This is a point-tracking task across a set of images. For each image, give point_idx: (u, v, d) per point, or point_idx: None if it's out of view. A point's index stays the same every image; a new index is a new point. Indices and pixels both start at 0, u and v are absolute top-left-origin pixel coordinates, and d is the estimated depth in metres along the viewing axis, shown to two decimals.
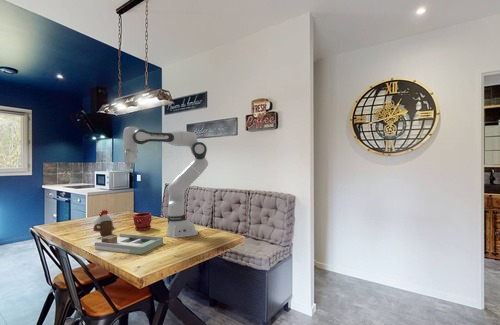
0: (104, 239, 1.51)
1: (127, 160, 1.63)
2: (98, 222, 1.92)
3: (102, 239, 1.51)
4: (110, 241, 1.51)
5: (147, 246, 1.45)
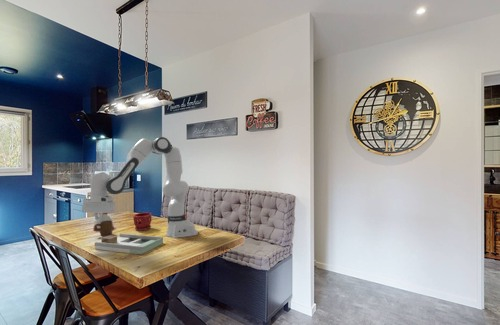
0: (104, 239, 1.51)
1: None
2: (98, 222, 1.92)
3: (102, 239, 1.51)
4: (110, 241, 1.51)
5: (147, 246, 1.45)
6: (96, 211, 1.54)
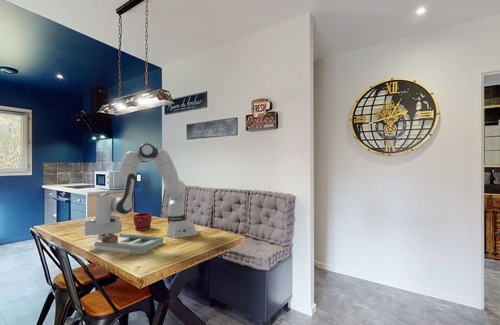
0: (105, 239, 1.51)
1: None
2: None
3: (103, 239, 1.51)
4: (111, 241, 1.51)
5: (147, 246, 1.45)
6: (103, 233, 1.53)
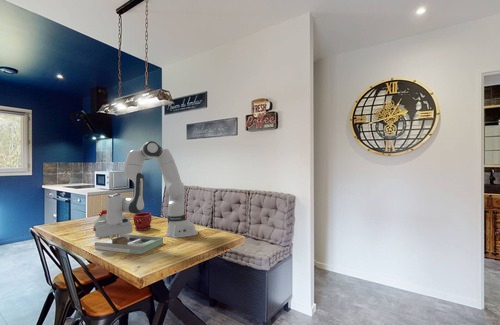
0: (114, 240, 1.48)
1: None
2: None
3: (113, 240, 1.49)
4: (120, 243, 1.47)
5: (147, 246, 1.45)
6: (114, 233, 1.51)
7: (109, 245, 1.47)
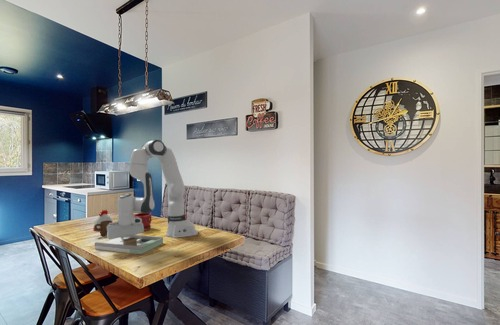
0: (124, 241, 1.47)
1: (107, 237, 1.44)
2: (98, 222, 1.92)
3: (123, 240, 1.49)
4: (127, 244, 1.45)
5: (147, 246, 1.45)
6: (127, 234, 1.50)
7: (109, 245, 1.47)
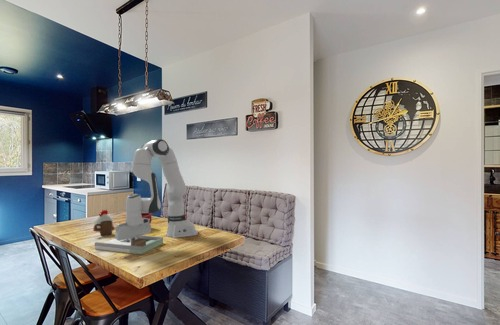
0: (132, 242, 1.45)
1: (116, 238, 1.40)
2: (98, 222, 1.92)
3: (131, 242, 1.46)
4: (137, 245, 1.43)
5: (147, 246, 1.45)
6: (135, 235, 1.47)
7: (109, 245, 1.47)
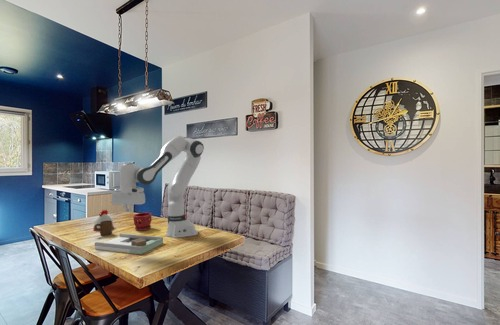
0: (133, 242, 1.45)
1: None
2: (98, 222, 1.92)
3: (132, 242, 1.46)
4: (138, 245, 1.43)
5: (147, 246, 1.45)
6: (126, 203, 1.50)
7: (109, 245, 1.47)
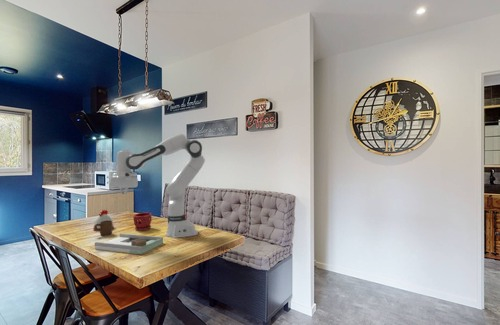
0: (133, 242, 1.45)
1: None
2: (98, 222, 1.92)
3: (132, 242, 1.46)
4: (138, 245, 1.43)
5: (147, 246, 1.45)
6: (122, 186, 1.66)
7: (109, 245, 1.47)
